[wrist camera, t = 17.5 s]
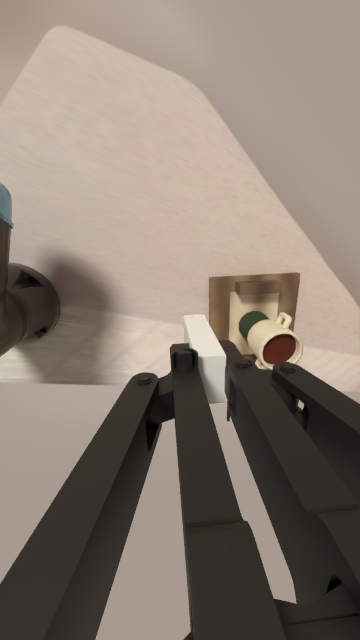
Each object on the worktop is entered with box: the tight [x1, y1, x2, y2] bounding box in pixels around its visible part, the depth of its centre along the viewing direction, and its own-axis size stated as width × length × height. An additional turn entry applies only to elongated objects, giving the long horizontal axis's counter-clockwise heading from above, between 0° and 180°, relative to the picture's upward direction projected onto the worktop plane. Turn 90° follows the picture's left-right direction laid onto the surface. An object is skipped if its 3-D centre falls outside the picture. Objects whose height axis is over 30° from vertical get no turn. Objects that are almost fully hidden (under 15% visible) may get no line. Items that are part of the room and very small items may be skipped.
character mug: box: [239, 311, 303, 370], centre depth 44 cm, size 11×7×13 cm, turn 161°
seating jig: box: [209, 273, 300, 365], centre depth 49 cm, size 18×20×4 cm
